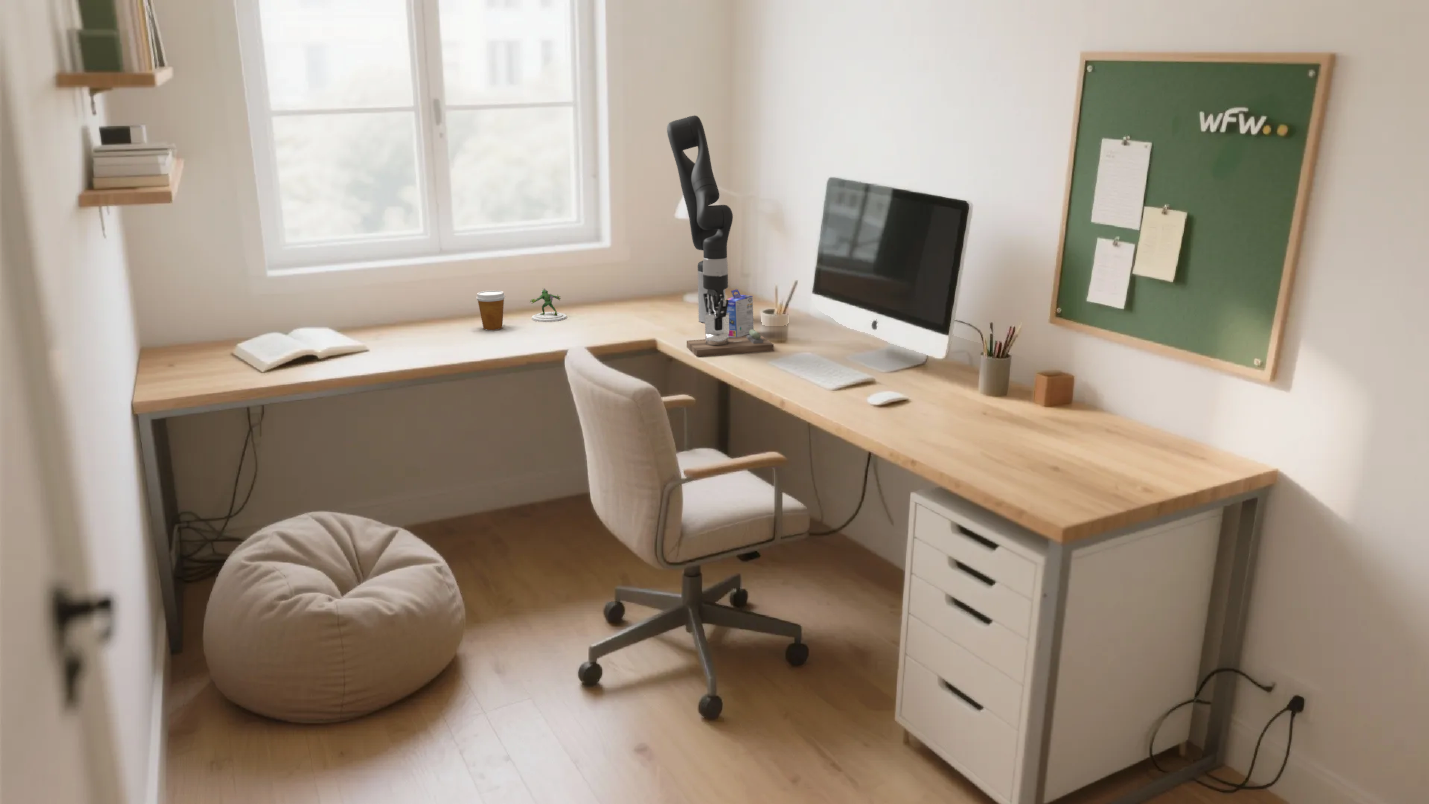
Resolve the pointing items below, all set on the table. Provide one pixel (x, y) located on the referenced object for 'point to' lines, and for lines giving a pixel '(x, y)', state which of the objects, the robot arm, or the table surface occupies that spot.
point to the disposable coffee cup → (491, 309)
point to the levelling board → (732, 345)
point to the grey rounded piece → (713, 335)
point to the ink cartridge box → (740, 314)
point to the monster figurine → (548, 315)
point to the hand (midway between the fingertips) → (716, 328)
